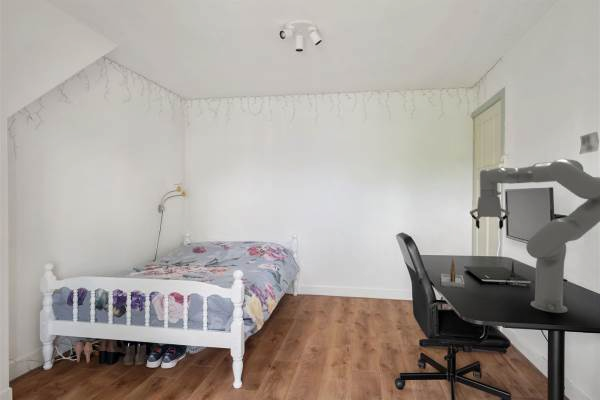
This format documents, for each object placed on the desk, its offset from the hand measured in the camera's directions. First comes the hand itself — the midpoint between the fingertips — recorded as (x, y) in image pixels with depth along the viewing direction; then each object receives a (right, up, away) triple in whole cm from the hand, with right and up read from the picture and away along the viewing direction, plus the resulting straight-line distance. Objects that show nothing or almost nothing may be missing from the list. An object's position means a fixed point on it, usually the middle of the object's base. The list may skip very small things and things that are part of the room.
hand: (489, 228), depth 163 cm
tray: (-10, -31, +18) cm, 37 cm away
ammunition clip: (-10, -31, +17) cm, 37 cm away
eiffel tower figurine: (+23, -32, +18) cm, 44 cm away
